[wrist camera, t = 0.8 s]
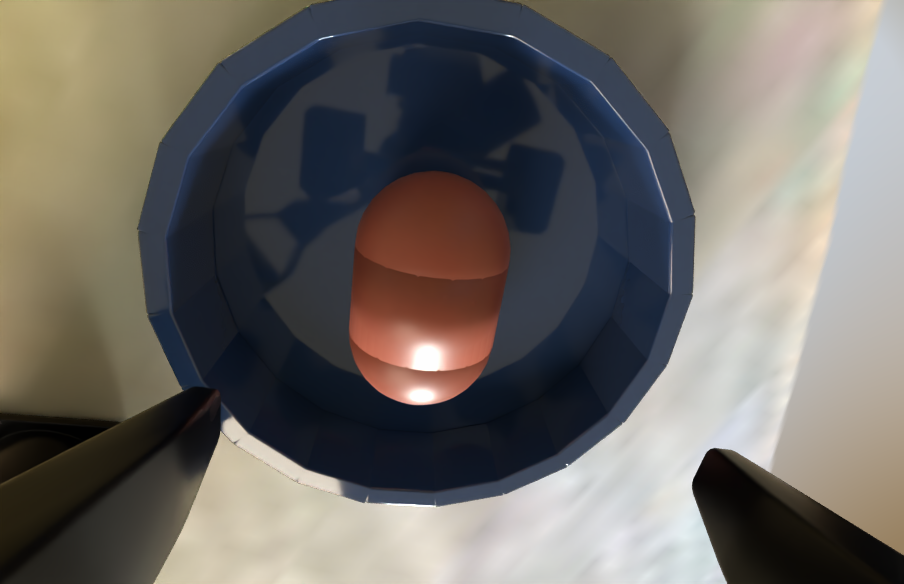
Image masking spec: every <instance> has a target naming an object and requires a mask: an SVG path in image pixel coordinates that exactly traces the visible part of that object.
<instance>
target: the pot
mask: <svg viewBox="0 0 904 584" xmlns="http://www.w3.org/2000/svg"><path fill="white" fill-rule="evenodd" d="M425 171H442V172H449V173H453V174H456V175H459V176H461V177H463V178H465V179H468V180H470V181H472V182H473V183H475V184H476V185H477V186H479V187H480V188H481V189H483V190H484V191H485V192H486V193H487V194H488V195H489V196H490V197H491V198H492V200H493V201H494V202H495V203H496V204H497V206H498V208H499V210H500V211H501V213H502V215H503V217H504V220H505V223H506V226H507V229H508V232H509V239H510V248H511V251H510V261H509V268H508V273H507V278H506V283H505V288H504V293H503V298H502V303H501V307H500V312H499V317H498V322H497V327H496V332H495V337H494V342H493V347H492V350H491V353H490V356H489V359H488V362H487V364H486V366H485V368H484V369H483V371H482V373H481V374H480V375H479V377H478V378H477V379H476V380H475V381H474V382H473V383H472V384H471V385H470V386H469V387H468V388H467V389H466V390H464V391H463V392H462V393H460V394H458V395H457V396H455V397H453V398H451V399H449V400H446V401H443V402H439V403H435V404H428V405H412V404H406V403H402V402H399V401H397V400H394V399H392V398H389V397H387V396H385V395H384V394H382V393H380V392H379V391H378V390H377V389H375V388H374V387H373V386H372V385H371V384H370V383H369V382H368V381H367V380H366V379H365V378H364V376H363V375H362V373H361V372H360V370H359V368H358V367H357V365H356V363H355V360H354V357H353V354H352V350H351V347H350V340H349V321H350V307H351V292H352V278H353V264H354V250H355V241H356V235H357V229H358V225H359V223H360V220H361V218H362V215H363V213H364V211H365V210H366V208H367V207H368V205H369V204H370V202H371V201H372V199H373V198H374V197H375V196H376V195H377V194H378V193H379V192H380V191H381V190H382V189H383V188H385V187H386V186H387V185H389V184H391V183H392V182H394V181H395V180H397V179H399V178H401V177H404V176H407V175H410V174H413V173H417V172H425ZM694 213H695V211H694V208H693V205H692V202H691V198H690V195H689V192H688V189H687V186H686V183H685V180H684V176H683V173H682V170H681V167H680V164H679V161H678V158H677V155H676V151H675V148H674V145H673V142H672V139H671V136H670V134H669V130H668V128H667V127H666V126H665V124H664V123H663V122H662V121H661V119H660V118H659V117H658V116H657V114H656V113H655V112H654V110H653V109H652V108H651V107H650V105H649V104H648V103H647V102H646V100H645V99H644V98H643V96H642V95H641V94H640V93H639V91H638V90H637V89H636V87H635V86H634V85H633V84H632V82H631V81H630V80H629V79H628V77H627V76H626V75H625V73H624V72H623V71H622V70H621V68H620V67H619V66H618V65H617V63H616V62H615V61H614V59H613V58H610V56H609V55H608V54H606V53H604V52H603V51H601V50H599V49H598V48H596V47H594V46H593V45H591V44H589V43H588V42H586V41H584V40H583V39H581V38H579V37H578V36H576V35H574V34H573V33H571V32H569V31H568V30H566V29H564V28H563V27H561V26H559V25H558V24H556V23H554V22H553V21H551V20H549V19H548V18H546V17H544V16H543V15H541V14H539V13H538V12H536V11H535V10H533V9H531V8H530V7H528V6H526V5H523V6H522V4H520V3H516V2H511V1H505V0H331V1H326V2H320V3H315V4H311V5H310V7H305V8H303V9H302V10H300V11H298V12H297V13H295V14H294V15H292V16H290V17H289V18H287V19H286V20H284V21H283V22H281V23H279V24H278V25H276V26H275V27H273V28H271V29H270V30H268V31H267V32H265V33H263V34H262V35H260V36H259V37H257V38H255V39H254V40H252V41H251V42H249V43H247V44H246V45H244V46H243V47H241V48H239V49H238V50H236V51H235V52H233V53H231V54H230V55H228V56H227V57H225V58H223V59H222V61H221V62H219V63H217V64H216V66H215V67H214V69H213V70H212V71H211V73H210V74H209V75H208V77H207V78H206V79H205V81H204V82H203V84H202V85H201V86H200V88H199V89H198V90H197V92H196V93H195V94H194V96H193V97H192V99H191V100H190V101H189V103H188V104H187V105H186V107H185V108H184V109H183V111H182V112H181V114H180V115H179V116H178V118H177V119H176V120H175V122H174V123H173V124H172V126H171V127H170V129H169V130H168V131H167V133H166V134H165V135H164V137H163V138H162V142H160V143H159V147H158V151H157V155H156V158H155V162H154V166H153V170H152V174H151V178H150V182H149V185H148V189H147V193H146V197H145V201H144V205H143V209H142V212H141V216H140V220H139V224H138V228H137V230H138V239H139V248H140V257H141V266H142V275H143V284H144V294H145V303H146V312H147V314H148V315H147V316H148V319H149V321H150V323H151V325H152V327H153V330H154V332H155V334H156V336H157V338H158V340H159V342H160V344H161V346H162V348H163V351H164V353H165V355H166V357H167V359H168V361H169V363H170V365H171V367H172V369H173V372H174V374H175V376H176V378H177V380H178V382H179V384H180V386H181V387H182V389H183V390H186V389H188V388H191V387H193V386H199V387H208V388H216V389H218V390H219V391H220V395H221V428H220V430H221V431H222V432H223V434H224V435H225V436H226V437H227V438H228V439H229V440H230V441H231V442H232V443H234V445H236V446H238V447H239V448H241V449H243V450H244V451H246V452H247V453H249V454H251V455H252V456H254V457H256V458H257V459H259V460H261V461H262V462H264V463H265V464H267V465H269V466H270V467H272V468H274V469H275V470H277V471H279V472H280V473H282V474H283V475H285V476H287V477H288V478H290V479H292V480H293V481H295V482H296V481H297V483H300V484H303V485H306V486H310V487H313V488H316V489H319V490H323V491H326V492H329V493H333V494H336V495H339V496H342V497H346V498H349V499H352V500H355V501H359V502H362V503H365V502H366V503H376V504H393V505H410V506H428V507H434V506H436V507H440V506H445V505H451V504H456V503H462V502H468V501H473V500H479V499H484V498H490V497H496V496H501V495H503V494H507V493H510V492H512V491H514V490H517V489H519V488H521V487H523V486H526V485H528V484H530V483H532V482H535V481H537V480H539V479H542V478H544V477H546V476H548V475H551V474H553V473H555V472H557V471H560V470H562V469H564V468H566V467H567V465H568V466H569V465H571V464H572V463H573V462H574V461H576V460H577V459H578V458H580V457H581V456H582V455H583V454H585V453H586V452H587V451H589V450H590V449H591V448H592V447H594V446H595V445H596V444H597V443H599V442H600V441H601V440H603V439H604V438H605V437H606V436H608V435H609V434H610V433H612V432H613V431H614V430H615V429H617V428H618V427H619V426H621V425H622V422H623V423H624V422H625V421H626V420H627V419H628V417H629V416H630V414H631V413H632V412H633V410H634V409H635V408H636V406H637V405H638V404H639V402H640V401H641V400H642V398H643V397H644V396H645V394H646V393H647V392H648V390H649V389H650V388H651V386H652V385H653V384H654V382H655V381H656V380H657V378H658V377H659V376H660V374H661V373H662V372H663V370H664V369H665V368H666V366H667V364H668V362H669V359H670V357H671V354H672V351H673V348H674V346H675V343H676V340H677V337H678V335H679V332H680V329H681V327H682V324H683V321H684V318H685V316H686V313H687V310H688V307H689V305H690V302H691V299H692V296H693V294H692V293H693V274H694V243H695V215H694Z"/></svg>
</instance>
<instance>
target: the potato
mask: <svg viewBox="0 0 904 584" xmlns="http://www.w3.org/2000/svg"><path fill="white" fill-rule="evenodd" d="M510 251H511V248H510V239H509V232H508V229H507V226H506V223H505V220H504V217H503V215H502V213H501V211H500V210H499V208H498V206H497V204H496V203H495V202H494V201H493V200H492V198H491V197H490V196H489V195H488V194H487V193H486V192H485V191H484V190H483V189H481V188H480V187H479V186H477V185H476V184H475V183H473V182H472V181H470V180H468V179H465V178H463V177H461V176H459V175H456V174H453V173H449V172H442V171H425V172H417V173H413V174H410V175H407V176H404V177H401V178H399V179H397V180H395V181H394V182H392V183H391V184H389V185H387V186H386V187H385V188H383V189H382V190H381V191H380V192H379V193H378V194H377V195H376V196H375V197H374V198H373V199H372V201H371V202H370V204H369V205H368V207H367V208H366V210H365V211H364V213H363V215H362V218H361V220H360V223H359V225H358V229H357V235H356V241H355V250H354V264H353V278H352V292H351V307H350V321H349V340H350V347H351V350H352V354H353V357H354V360H355V363H356V365H357V367H358V368H359V370H360V372H361V373H362V375H363V376H364V378H365V379H366V380H367V381H368V382H369V383H370V384H371V385H372V386H373V387H374V388H375V389H377V390H378V391H379V392H380V393H382V394H384V395H385V396H387V397H389V398H392V399H394V400H397V401H399V402H402V403H406V404H412V405H428V404H435V403H439V402H443V401H446V400H449V399H451V398H453V397H455V396H457V395H458V394H460V393H462V392H463V391H464V390H466V389H467V388H468V387H469V386H470V385H471V384H472V383H473V382H474V381H475V380H476V379H477V378H478V377H479V375H480V374H481V373H482V371H483V369H484V368H485V366H486V364H487V362H488V359H489V356H490V353H491V350H492V347H493V342H494V337H495V332H496V327H497V322H498V317H499V312H500V307H501V303H502V298H503V293H504V288H505V283H506V278H507V273H508V268H509V261H510Z"/></svg>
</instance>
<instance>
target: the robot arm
mask: <svg viewBox="0 0 904 584" xmlns="http://www.w3.org/2000/svg"><path fill="white" fill-rule="evenodd" d="M220 428H221V395H220V391H219V390H218V389H216V388H208V387H199V386H193V387H191V388H188V389H186V390H184V391H182V392H181V393H179V394H177V395H175V396H173V397H171V398H169V399H167V400H165V401H163V402H161V403H159V404H157V405H155V406H153V407H151V408H149V409H147V410H145V411H143V412H141V413H139V414H137V415H135V416H134V417H132V418H130V419H128V420H126V421H124V422H115V421H101V420H87V419H73V418H59V417H46V416H32V415H18V414H4V413H0V584H154V582H155V580H156V578H157V576H158V574H159V572H160V570H161V569H162V567H163V565H164V563H165V561H166V559H167V557H168V556H169V554H170V552H171V550H172V548H173V546H174V544H175V542H176V541H177V539H178V537H179V535H180V533H181V531H182V529H183V526H184V524H185V522H186V519H187V517H188V515H189V512H190V510H191V507H192V505H193V502H194V500H195V497H196V495H197V492H198V490H199V487H200V485H201V482H202V480H203V477H204V475H205V472H206V470H207V467H208V465H209V462H210V460H211V458H212V455H213V453H214V450H215V448H216V445H217V442H218V439H219V435H220ZM692 490H693V495H694V497H695V500H696V503H697V506H698V508H699V511H700V514H701V517H702V519H703V522H704V525H705V527H706V530H707V533H708V536H709V538H710V541H711V544H712V547H713V549H714V552H715V555H716V557H717V560H718V563H719V565H720V568H721V570H722V573H723V575H724V577H725V580H726V582H727V584H904V555H902V554H901V553H899V552H897V551H896V550H894V549H892V548H891V547H889V546H888V545H886V544H884V543H883V542H881V541H879V540H878V539H876V538H874V537H873V536H871V535H870V534H868V533H867V532H865V531H863V530H862V529H860V528H858V527H857V526H855V525H854V524H852V523H850V522H849V521H847V520H845V519H844V518H842V517H840V516H839V515H837V514H836V513H834V512H832V511H831V510H829V509H828V508H826V507H824V506H823V505H821V504H820V503H818V502H816V501H815V500H813V499H811V498H810V497H808V496H807V495H805V494H803V493H802V492H800V491H798V490H797V489H795V488H793V487H792V486H790V485H788V484H787V483H785V482H784V481H782V480H781V479H779V478H777V477H776V476H774V475H772V474H771V473H769V472H768V471H766V470H764V469H763V468H761V467H759V466H758V465H756V464H755V463H753V462H751V461H750V460H748V459H747V458H745V457H743V456H742V455H740V454H738V453H737V452H735V451H732V450H727V449H719V448H713V449H710V450H709V451H707V453H706V454H705V456H704V458H703V460H702V462H701V464H700V466H699V468H698V470H697V473H696V475H695V477H694V479H693V482H692Z"/></svg>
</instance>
